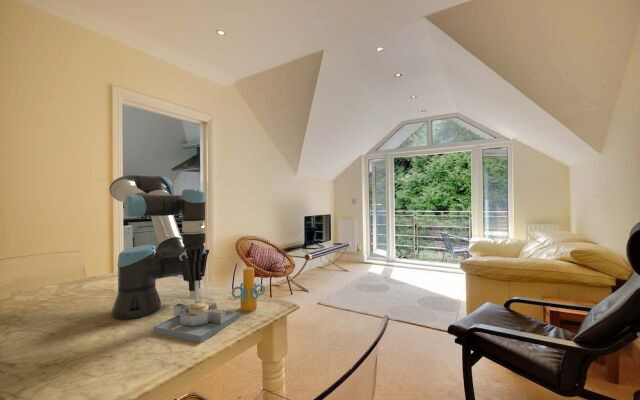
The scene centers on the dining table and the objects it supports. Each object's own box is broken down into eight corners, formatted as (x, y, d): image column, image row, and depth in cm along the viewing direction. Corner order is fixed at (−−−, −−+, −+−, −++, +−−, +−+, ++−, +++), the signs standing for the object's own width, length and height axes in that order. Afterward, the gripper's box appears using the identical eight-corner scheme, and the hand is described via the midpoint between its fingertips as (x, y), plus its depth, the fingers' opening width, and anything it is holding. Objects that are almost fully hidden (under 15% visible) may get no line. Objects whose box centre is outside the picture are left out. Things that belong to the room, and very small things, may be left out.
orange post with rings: (254, 316, 101) (254, 273, 101) (227, 313, 103) (227, 271, 103) (268, 303, 113) (268, 265, 113) (243, 301, 115) (243, 264, 115)
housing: (153, 333, 88) (153, 311, 88) (197, 311, 105) (197, 293, 105) (200, 343, 82) (200, 320, 82) (238, 318, 99) (238, 299, 99)
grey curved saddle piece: (162, 320, 92) (162, 308, 92) (188, 308, 102) (188, 296, 102) (210, 329, 85) (210, 316, 85) (233, 315, 96) (233, 303, 96)
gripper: (188, 235, 95) (188, 306, 95) (215, 231, 107) (215, 294, 107) (170, 234, 97) (171, 304, 97) (199, 230, 110) (199, 292, 110)
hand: (194, 299), depth 102 cm, fingers closed
